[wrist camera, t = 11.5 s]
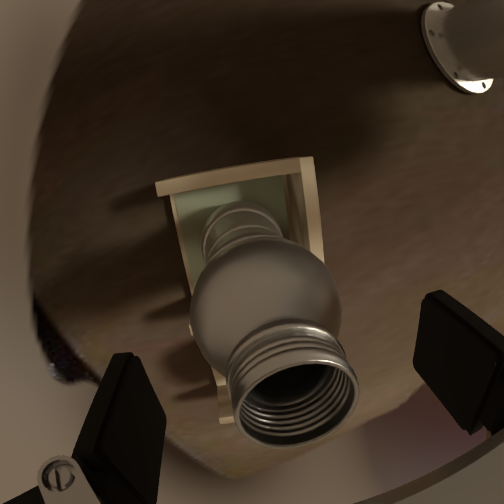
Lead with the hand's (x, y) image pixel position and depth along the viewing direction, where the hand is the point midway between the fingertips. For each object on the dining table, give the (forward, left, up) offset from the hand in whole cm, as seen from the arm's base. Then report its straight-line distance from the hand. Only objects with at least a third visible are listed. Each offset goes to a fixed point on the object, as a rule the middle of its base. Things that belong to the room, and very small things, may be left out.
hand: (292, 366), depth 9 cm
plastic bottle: (0, 0, -19) cm, 19 cm away
